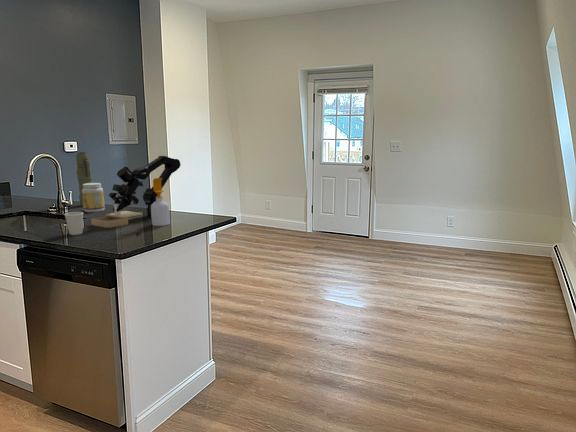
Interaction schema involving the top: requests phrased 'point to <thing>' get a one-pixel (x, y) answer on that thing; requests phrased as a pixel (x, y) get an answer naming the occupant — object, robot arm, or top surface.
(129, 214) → the carton lid
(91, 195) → the supplement tub
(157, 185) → the soap bottle
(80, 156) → the green cactus
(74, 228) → the dixie cup
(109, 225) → the carton
